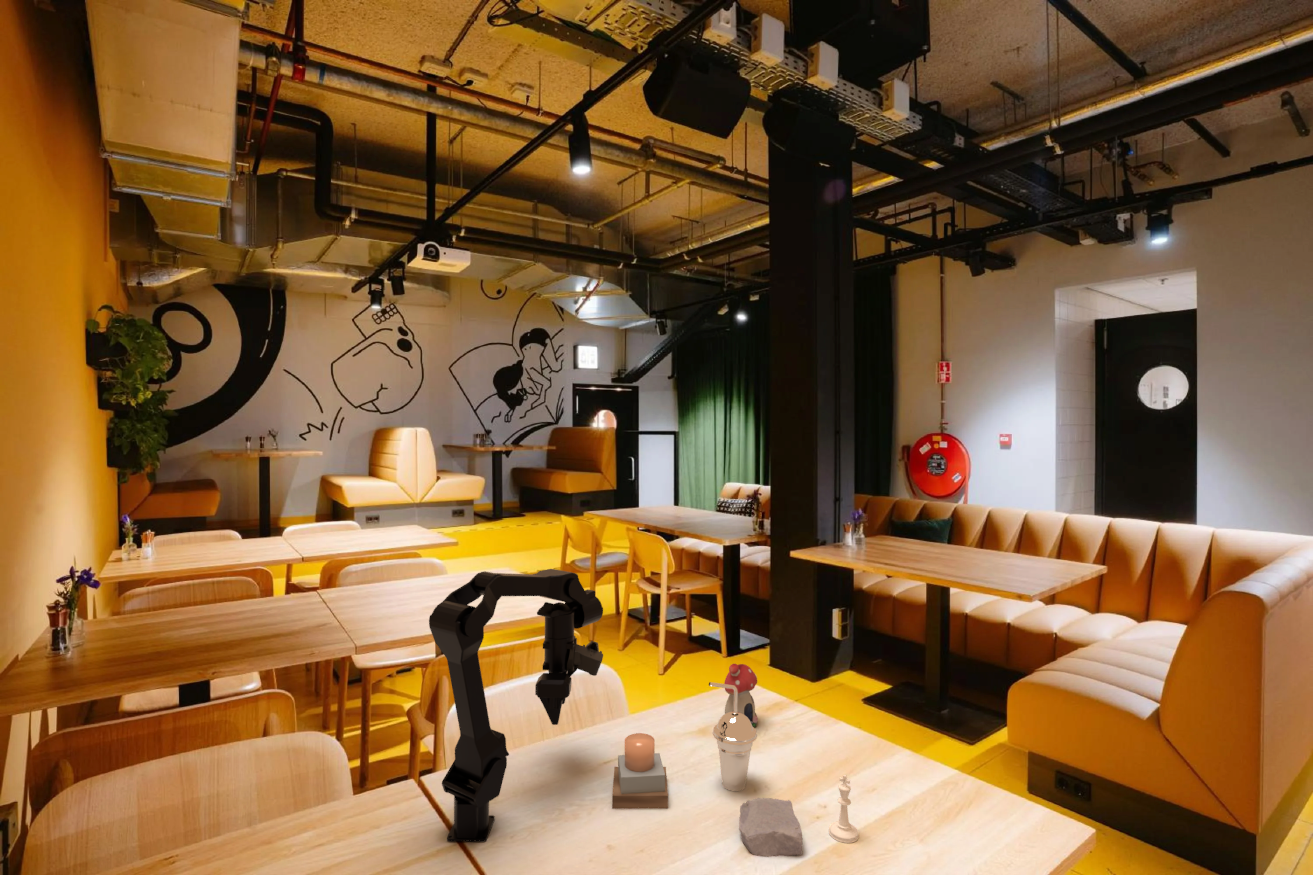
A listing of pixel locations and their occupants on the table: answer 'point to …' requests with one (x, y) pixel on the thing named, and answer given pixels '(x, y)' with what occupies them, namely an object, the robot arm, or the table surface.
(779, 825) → the stone block
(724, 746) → the cup with straw
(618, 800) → the base slab
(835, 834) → the chess piece
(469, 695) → the robot arm
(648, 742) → the cylinder
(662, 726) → the table surface
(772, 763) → the table surface
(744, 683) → the decorative ornament
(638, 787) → the top slab
